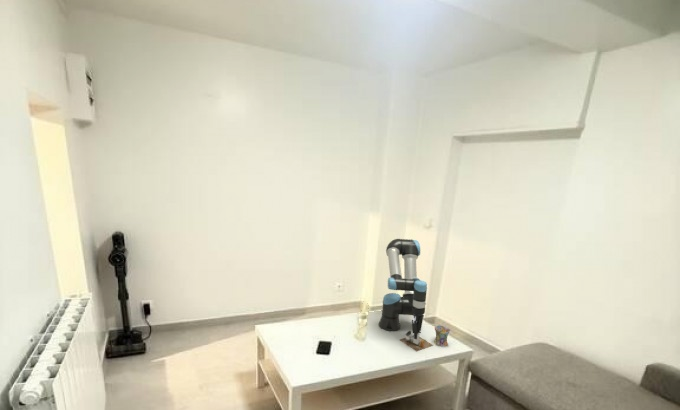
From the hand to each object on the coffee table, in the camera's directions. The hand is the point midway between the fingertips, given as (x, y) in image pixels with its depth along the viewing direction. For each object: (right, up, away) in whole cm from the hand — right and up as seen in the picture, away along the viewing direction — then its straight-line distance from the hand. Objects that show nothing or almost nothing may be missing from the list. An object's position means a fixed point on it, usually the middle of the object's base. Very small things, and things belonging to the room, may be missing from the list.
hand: (415, 343), depth 197 cm
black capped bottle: (0, -1, +2) cm, 2 cm away
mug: (+17, -3, +6) cm, 18 cm away
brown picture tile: (+1, -2, +4) cm, 5 cm away
